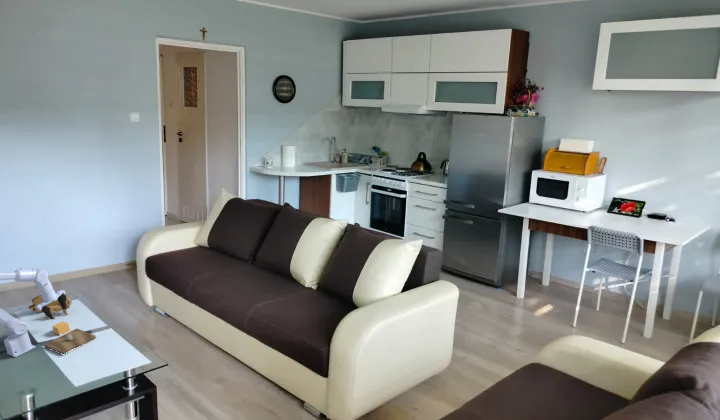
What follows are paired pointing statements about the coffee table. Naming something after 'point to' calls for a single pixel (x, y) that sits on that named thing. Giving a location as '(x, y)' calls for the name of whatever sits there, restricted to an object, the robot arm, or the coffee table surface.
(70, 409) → the coffee table surface
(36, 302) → the wooden carving
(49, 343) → the walnut board
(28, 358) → the coffee table surface
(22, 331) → the robot arm
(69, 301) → the lion figurine
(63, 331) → the tan rounded cube
